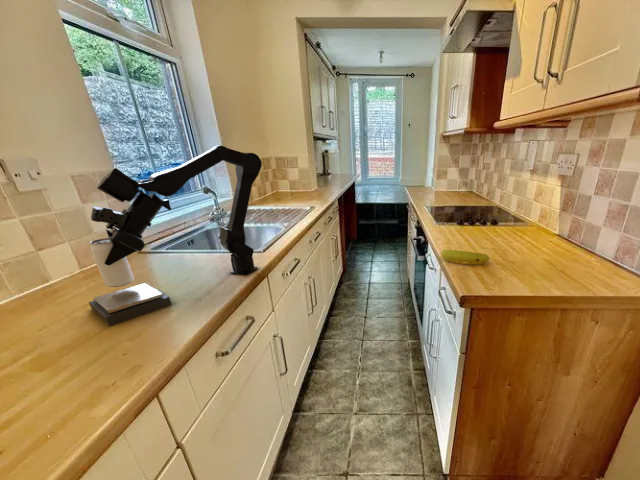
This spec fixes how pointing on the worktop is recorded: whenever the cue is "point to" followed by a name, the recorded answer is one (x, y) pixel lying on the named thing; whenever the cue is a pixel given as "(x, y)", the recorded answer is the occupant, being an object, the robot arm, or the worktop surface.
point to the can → (115, 272)
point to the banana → (464, 257)
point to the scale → (130, 309)
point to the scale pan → (127, 297)
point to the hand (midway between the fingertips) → (105, 261)
